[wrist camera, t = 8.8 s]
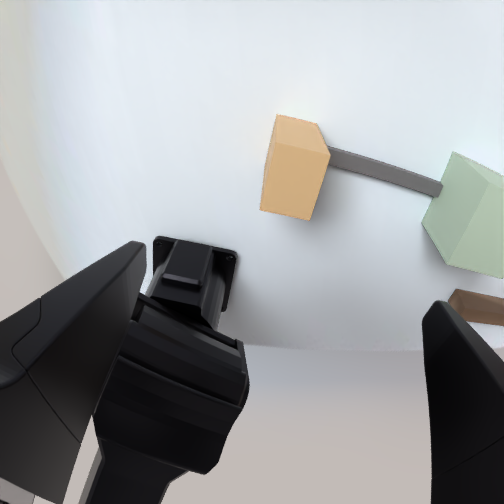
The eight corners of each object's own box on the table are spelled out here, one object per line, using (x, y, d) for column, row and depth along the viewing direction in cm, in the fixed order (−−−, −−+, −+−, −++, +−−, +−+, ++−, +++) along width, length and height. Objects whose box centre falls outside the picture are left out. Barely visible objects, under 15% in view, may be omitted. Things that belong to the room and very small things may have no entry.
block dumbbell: (475, 239, 22) (508, 288, 17) (261, 182, 21) (254, 231, 16) (507, 177, 19) (550, 218, 14) (281, 95, 18) (281, 115, 13)
